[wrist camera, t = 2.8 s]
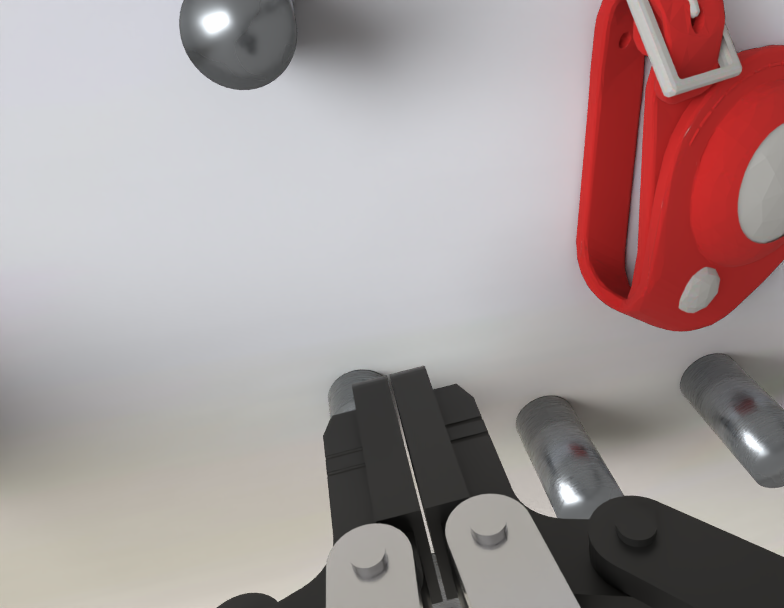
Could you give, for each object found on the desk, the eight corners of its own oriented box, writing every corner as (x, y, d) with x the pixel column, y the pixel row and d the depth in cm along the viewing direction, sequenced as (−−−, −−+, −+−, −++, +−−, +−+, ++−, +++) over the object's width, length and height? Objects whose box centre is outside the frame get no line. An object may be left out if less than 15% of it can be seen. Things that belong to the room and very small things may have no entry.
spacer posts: (1073, -408, 16) (1352, -521, 12) (861, 477, 32) (950, 562, 28) (138, -196, 16) (86, -237, 12) (391, 599, 32) (408, 705, 28)
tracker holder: (915, 104, 22) (764, 375, 24) (788, 91, 26) (665, 326, 27) (716, -114, 15) (526, 285, 17) (582, -90, 19) (437, 236, 21)
